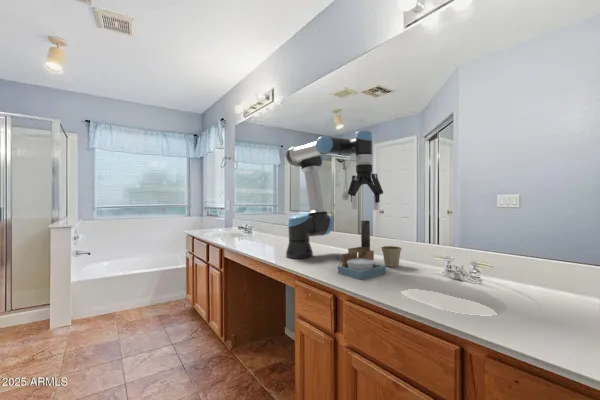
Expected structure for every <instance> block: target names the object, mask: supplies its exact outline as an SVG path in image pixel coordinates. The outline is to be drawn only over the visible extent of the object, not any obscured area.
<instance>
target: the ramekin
mask: <svg viewBox="0 0 600 400" xmlns="http://www.w3.org/2000/svg"><path fill="white" fill-rule="evenodd" d="M347 264H348V268H350V269H353V270H357V271H363V270H367V269H372V268H373V264H375V262H374V260H369V259H362V258H355V259H349V260H347Z"/></svg>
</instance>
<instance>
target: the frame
mask: <svg viewBox="0 0 600 400" xmlns="http://www.w3.org/2000/svg"><path fill="white" fill-rule="evenodd" d="M386 267H387V266H385V265H382V264H377V263H374V264H373V268H372V269H367V270H363V271H357V270H353V269H350V268H346V267H342V265H338V266H337V274H341V275H343V276H347V277H349V278H352V279H357V280H363V279H368V278H371V277H372V278H373V277H376V276H379V275H385V274H387V270H386Z"/></svg>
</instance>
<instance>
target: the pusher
mask: <svg viewBox="0 0 600 400" xmlns="http://www.w3.org/2000/svg"><path fill="white" fill-rule="evenodd" d="M370 224H371V222H370V220H361V221H360V235H361V236H360V241H361V243H360V244H361V246H356V247H351V248H348V249H347V251H348V252H347V253H341V254H342V261H341V266H342V267H346V268H348V264H347V260H349V259H355V258H357V257H358V258H362V259H369V260H372V261H374V259H375V254H374V252H375V251H374V250H371V230H370V228H371V226H370Z"/></svg>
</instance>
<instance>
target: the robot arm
mask: <svg viewBox="0 0 600 400" xmlns="http://www.w3.org/2000/svg"><path fill="white" fill-rule="evenodd" d="M372 135H373V134H372V132H371V131H370V130H358V131H356V132H355V135H354V136H355V137H353V138H339V137H331V136H319V137H318V139H316V141H313V142H309V143H307V144H304V145H300V146H298V145H294V146H291V147H290V148H288V149H287V151H286V153H285V158H286V161H287V162H288V164H290V165H291V166H293V167H301V172H302V173H304V178H305V185H306V193H307V194H306V195H307V200H308V201H307V202H308V207H309V212H308V213H304V214H303V213H302V214H301V213H300V214H296V215H292V216H289V218H288V225H287V226H288V245H287V248H286V252H285V257H286V258H289V259H294V260H295V259H309V258H313V256H314V254H313V253H314V252H313V249H312V248H313V247H312V246H311V245H312V244H311V243H310V237H317V236H319V237H320V236H321V237H323V236H327V235H329V234H330V233H331V231H332V230H333V225H334V221H333V218H332V216H331V215H329V214H328V211H327V210H326V209H325V206H324V200H323V193H322V187H321V178H320V173H319V172H320V169H321V167H322V165H323V163H324V155H328V154H336V155H341V156H350V155H355V164H356V165H355V172H356V175H355V174H354V175H352V176H351V180H350V181H351V182H350V185H349V187H348V190H347V195H349V196H350V202H351V210H357V208H358V201H357V200H358V195H357V193H358V192H359V190H360V188H361V187H362V185H367V186H368V188H370V191H371V192H372V193H373V195H372V205H373V206H372V211H379V208H380V207H379V203H380V196H381V195H382V194H384V190H383V188H382V186H381V183H380V180H379V179H378V174H377V173H372V172H373V136H372Z"/></svg>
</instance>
